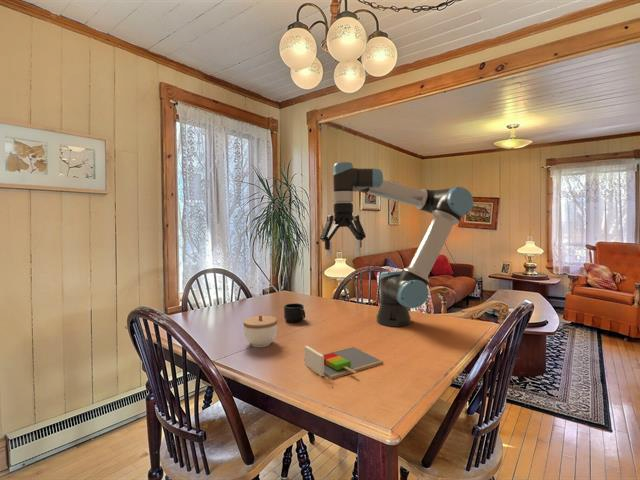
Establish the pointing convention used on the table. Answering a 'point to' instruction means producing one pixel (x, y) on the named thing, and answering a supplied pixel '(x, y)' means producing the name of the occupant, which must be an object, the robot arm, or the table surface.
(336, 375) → the slate board
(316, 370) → the word card
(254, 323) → the lidded bowl
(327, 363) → the popsicle
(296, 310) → the mug
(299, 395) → the table surface
